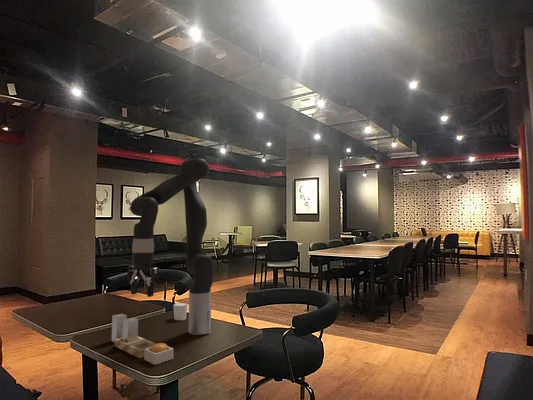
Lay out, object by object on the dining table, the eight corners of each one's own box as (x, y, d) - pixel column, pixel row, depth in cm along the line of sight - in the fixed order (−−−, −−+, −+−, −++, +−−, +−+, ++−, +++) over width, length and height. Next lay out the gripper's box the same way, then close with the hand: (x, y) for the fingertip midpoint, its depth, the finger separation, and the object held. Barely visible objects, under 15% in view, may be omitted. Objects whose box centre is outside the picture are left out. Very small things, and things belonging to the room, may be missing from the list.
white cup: (188, 316, 176) (188, 302, 177) (185, 320, 170) (186, 305, 170) (174, 316, 176) (175, 302, 177) (171, 320, 169) (171, 306, 170)
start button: (148, 353, 121) (148, 345, 122) (161, 349, 125) (161, 342, 125) (156, 356, 118) (156, 349, 118) (169, 352, 122) (169, 345, 122)
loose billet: (111, 341, 140) (112, 315, 141) (121, 338, 143) (121, 313, 144) (116, 343, 138) (117, 317, 138) (126, 340, 141) (126, 315, 141)
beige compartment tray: (114, 346, 134) (115, 339, 134) (134, 341, 140) (134, 334, 140) (139, 358, 123) (139, 350, 123) (159, 351, 129) (159, 344, 129)
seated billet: (122, 346, 134) (123, 319, 135) (132, 343, 138) (132, 317, 138) (127, 348, 132) (128, 321, 133) (137, 345, 135) (138, 319, 136)
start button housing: (144, 359, 121) (144, 349, 121) (162, 353, 127) (162, 344, 127) (155, 365, 117) (155, 354, 117) (173, 358, 122) (173, 348, 122)
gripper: (121, 250, 131) (120, 295, 129) (148, 252, 123) (147, 299, 122) (138, 249, 137) (137, 291, 136) (164, 251, 130) (163, 295, 129)
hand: (142, 295), depth 129 cm, fingers open, 8 cm apart
